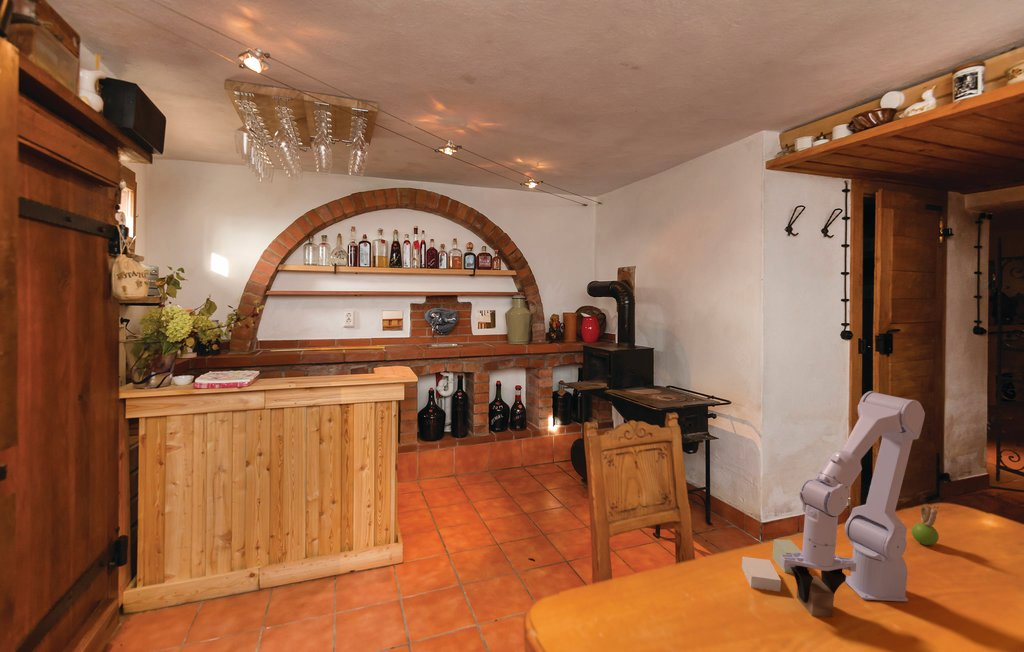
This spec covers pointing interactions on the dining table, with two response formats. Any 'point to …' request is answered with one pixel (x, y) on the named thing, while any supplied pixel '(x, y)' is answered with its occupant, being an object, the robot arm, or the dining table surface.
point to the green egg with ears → (926, 527)
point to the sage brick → (783, 551)
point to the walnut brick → (819, 599)
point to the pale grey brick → (761, 574)
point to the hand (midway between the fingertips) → (814, 600)
